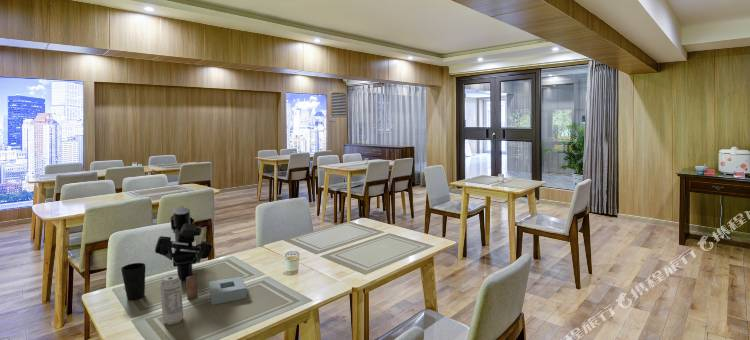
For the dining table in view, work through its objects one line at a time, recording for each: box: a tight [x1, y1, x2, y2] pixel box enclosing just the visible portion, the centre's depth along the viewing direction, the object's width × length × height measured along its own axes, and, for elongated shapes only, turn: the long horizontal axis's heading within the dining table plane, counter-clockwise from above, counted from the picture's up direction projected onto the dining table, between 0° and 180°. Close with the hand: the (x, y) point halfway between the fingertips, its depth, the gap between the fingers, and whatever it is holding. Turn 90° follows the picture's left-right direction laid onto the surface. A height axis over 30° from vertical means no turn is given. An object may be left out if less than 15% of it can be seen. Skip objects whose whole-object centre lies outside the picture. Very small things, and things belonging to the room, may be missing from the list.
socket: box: [208, 276, 248, 306], centre depth 152 cm, size 12×12×4 cm
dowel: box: [185, 275, 199, 301], centre depth 149 cm, size 4×4×8 cm
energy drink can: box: [159, 274, 184, 326], centre depth 132 cm, size 6×6×15 cm
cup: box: [120, 262, 146, 302], centre depth 149 cm, size 8×8×12 cm
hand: (185, 260), depth 144 cm, fingers open, 9 cm apart
